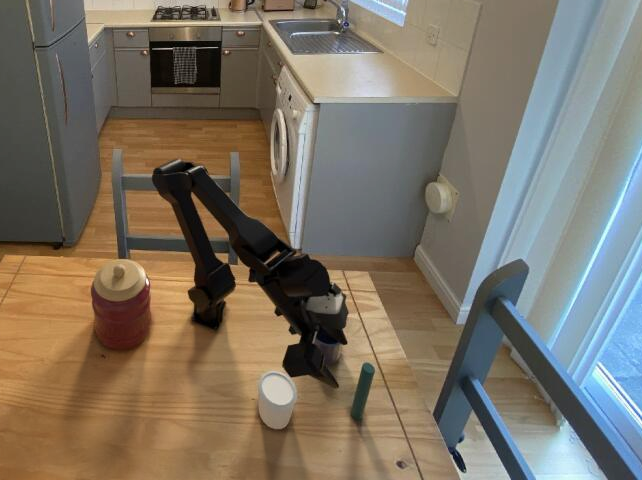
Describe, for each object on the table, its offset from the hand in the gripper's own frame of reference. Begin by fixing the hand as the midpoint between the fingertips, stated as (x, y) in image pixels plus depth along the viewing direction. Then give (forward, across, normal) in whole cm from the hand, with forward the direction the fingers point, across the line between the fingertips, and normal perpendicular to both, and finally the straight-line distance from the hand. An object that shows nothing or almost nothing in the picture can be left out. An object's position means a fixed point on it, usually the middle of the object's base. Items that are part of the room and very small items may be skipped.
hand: (341, 364), depth 76 cm
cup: (+5, +10, +10) cm, 15 cm away
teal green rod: (+10, 0, +5) cm, 12 cm away
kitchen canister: (-24, -6, +39) cm, 46 cm away
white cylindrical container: (+1, -7, +14) cm, 16 cm away
